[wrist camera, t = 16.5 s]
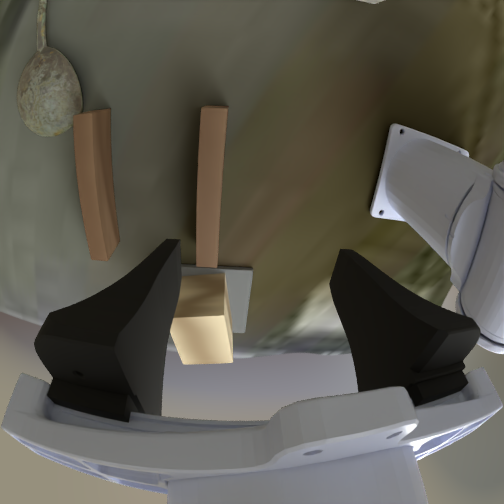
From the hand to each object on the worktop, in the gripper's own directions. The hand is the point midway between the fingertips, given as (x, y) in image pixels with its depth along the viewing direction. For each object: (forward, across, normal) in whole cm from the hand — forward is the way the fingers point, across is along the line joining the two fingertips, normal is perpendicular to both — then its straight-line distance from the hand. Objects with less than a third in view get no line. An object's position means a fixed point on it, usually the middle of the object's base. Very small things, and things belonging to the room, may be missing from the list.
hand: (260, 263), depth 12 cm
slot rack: (+9, +7, 0) cm, 12 cm away
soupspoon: (+10, +17, -15) cm, 25 cm away
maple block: (+9, +3, +11) cm, 14 cm away
